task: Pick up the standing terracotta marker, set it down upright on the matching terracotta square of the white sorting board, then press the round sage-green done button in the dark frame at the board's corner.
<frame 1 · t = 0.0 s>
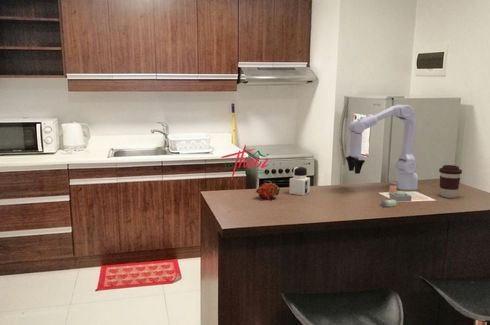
hand: (354, 172, 216), 10 cm above the countertop, tool pointing down, fingers open, 7 cm apart
sage marker lying: (389, 207, 189), on the countertop
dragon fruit: (267, 198, 204), on the countertop
container: (299, 193, 214), on the countertop
white sorting board: (406, 198, 205), on the countertop
done button: (400, 194, 199), point 3 cm above the countertop, slide at 0.0 cm
terracotta marker: (392, 194, 208), point 1 cm above the countertop, touching white sorting board
coffee cup: (448, 196, 209), on the countertop
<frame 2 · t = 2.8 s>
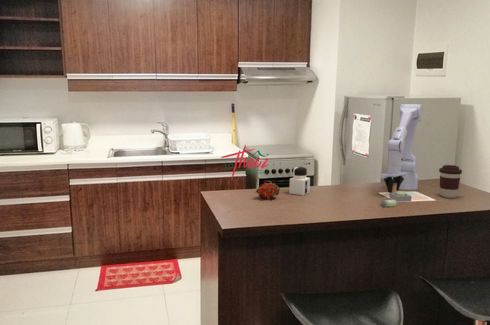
hand: (392, 191, 208), 2 cm above the countertop, tool pointing down, fingers closed on terracotta marker, 3 cm apart
terracotta marker: (392, 194, 208), point 1 cm above the countertop, touching gripper, white sorting board
everything else where it was.
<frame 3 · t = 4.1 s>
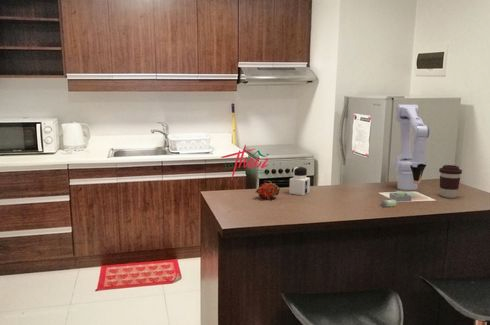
hand: (417, 180, 202), 9 cm above the countertop, tool pointing down, fingers closed on terracotta marker, 3 cm apart
terracotta marker: (416, 183, 202), point 8 cm above the countertop, touching gripper
everything else where it was.
when the fingers open (3 cm above the countertop, at t = 5.6 s): terracotta marker stays where it is, resting on white sorting board.
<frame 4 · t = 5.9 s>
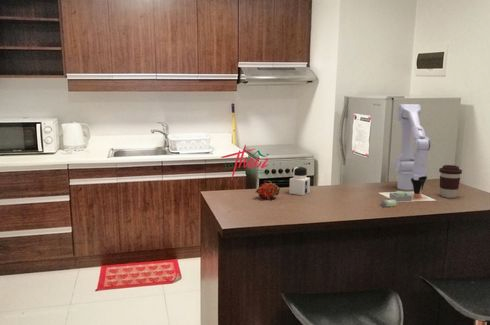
hand: (418, 192, 202), 3 cm above the countertop, tool pointing down, fingers open, 5 cm apart
terracotta marker: (417, 197, 203), point 1 cm above the countertop, touching white sorting board
everything else where it was.
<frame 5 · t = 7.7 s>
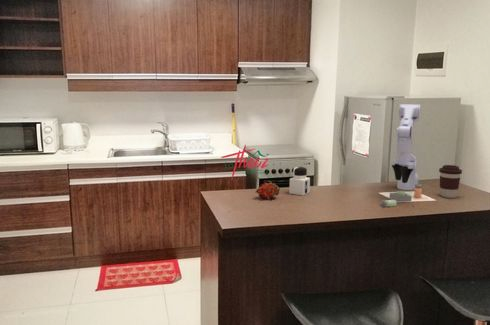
hand: (401, 181, 198), 9 cm above the countertop, tool pointing down, fingers open, 5 cm apart
nothing on the countertop moved.
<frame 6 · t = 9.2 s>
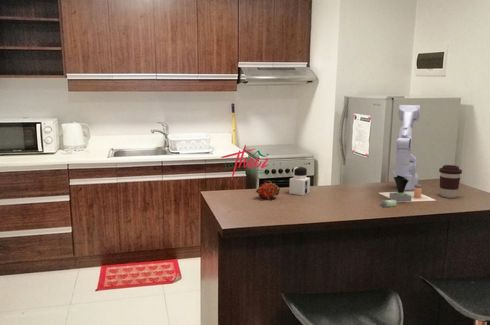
hand: (400, 192, 199), 4 cm above the countertop, tool pointing down, fingers closed, pressing on done button
done button: (400, 195, 199), point 3 cm above the countertop, slide at 0.3 cm, touching gripper
everything else where it was.
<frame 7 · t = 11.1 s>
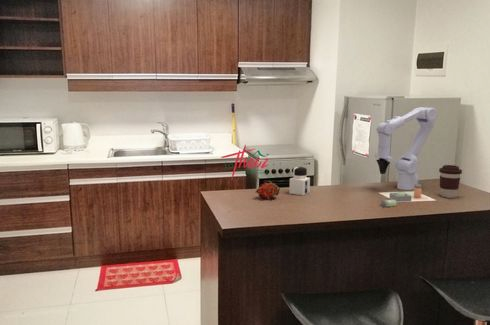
hand: (382, 173, 216), 9 cm above the countertop, tool pointing down, fingers closed
done button: (400, 195, 199), point 2 cm above the countertop, slide at 0.5 cm
everything else where it was.
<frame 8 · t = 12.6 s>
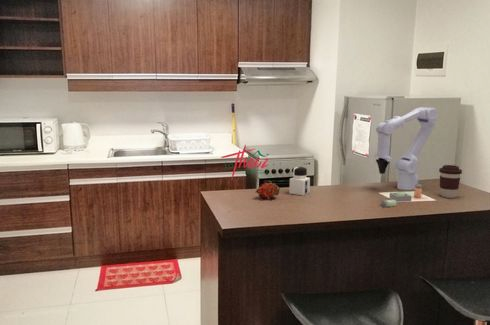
hand: (382, 173, 216), 9 cm above the countertop, tool pointing down, fingers closed
nothing on the countertop moved.
at the end: terracotta marker inside the target area on the white sorting board (0.1 cm from its centre), point 1.0 cm above the white sorting board's base; terracotta marker tilted 4°; done button slide at 0.5 cm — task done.
